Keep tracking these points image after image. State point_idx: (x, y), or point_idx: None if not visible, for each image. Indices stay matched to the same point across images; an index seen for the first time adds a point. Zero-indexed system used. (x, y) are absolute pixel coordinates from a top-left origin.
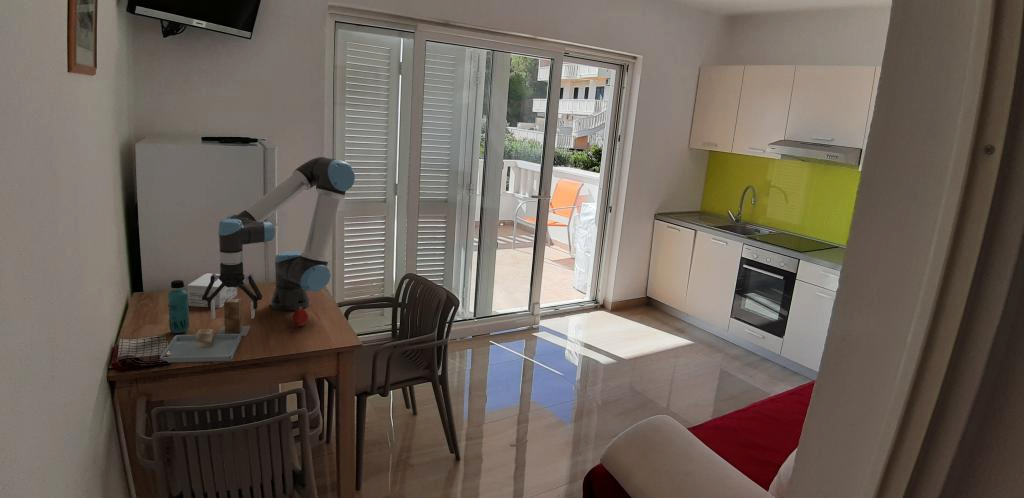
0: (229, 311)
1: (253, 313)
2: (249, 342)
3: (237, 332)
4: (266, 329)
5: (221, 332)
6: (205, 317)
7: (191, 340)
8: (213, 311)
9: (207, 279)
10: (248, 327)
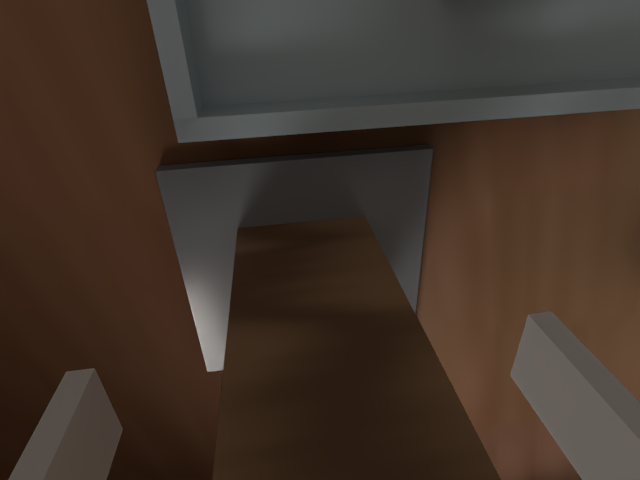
0: (378, 410)
1: (39, 445)
2: (56, 21)
3: (258, 230)
4: (61, 340)
5: (398, 239)
6: (511, 445)
7: (638, 57)
8: (593, 398)
9: None
10: (210, 344)
